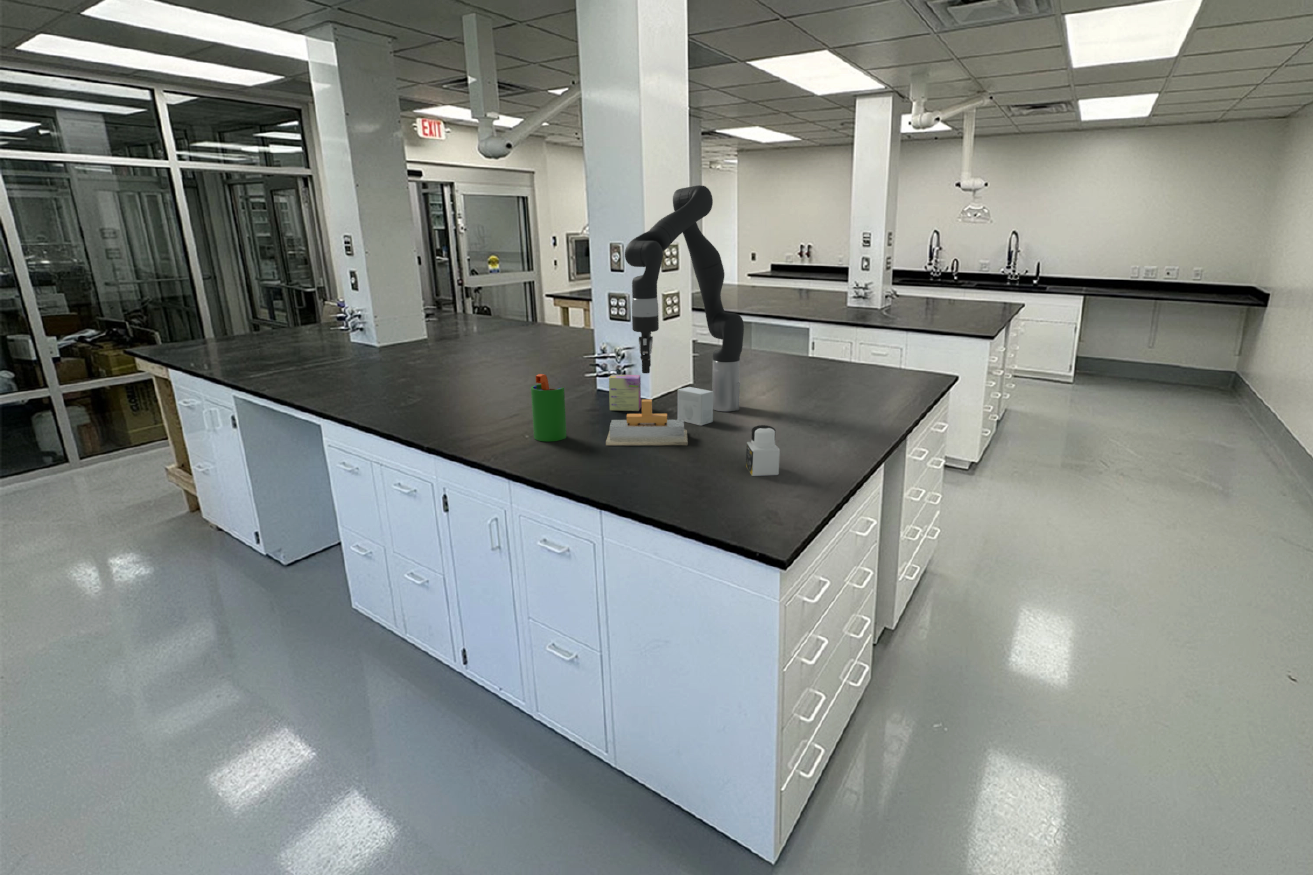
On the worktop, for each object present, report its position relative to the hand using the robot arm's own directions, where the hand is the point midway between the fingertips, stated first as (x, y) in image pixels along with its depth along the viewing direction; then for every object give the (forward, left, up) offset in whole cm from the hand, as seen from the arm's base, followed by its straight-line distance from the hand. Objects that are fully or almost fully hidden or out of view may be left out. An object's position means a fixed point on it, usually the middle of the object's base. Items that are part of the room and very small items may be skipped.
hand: (646, 369), depth 190 cm
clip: (0, 0, -20) cm, 20 cm away
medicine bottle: (-31, +27, -22) cm, 46 cm away
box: (+9, -34, -22) cm, 41 cm away
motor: (+30, -2, -22) cm, 37 cm away
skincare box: (-15, -19, -22) cm, 32 cm away
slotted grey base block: (0, 0, -21) cm, 21 cm away
